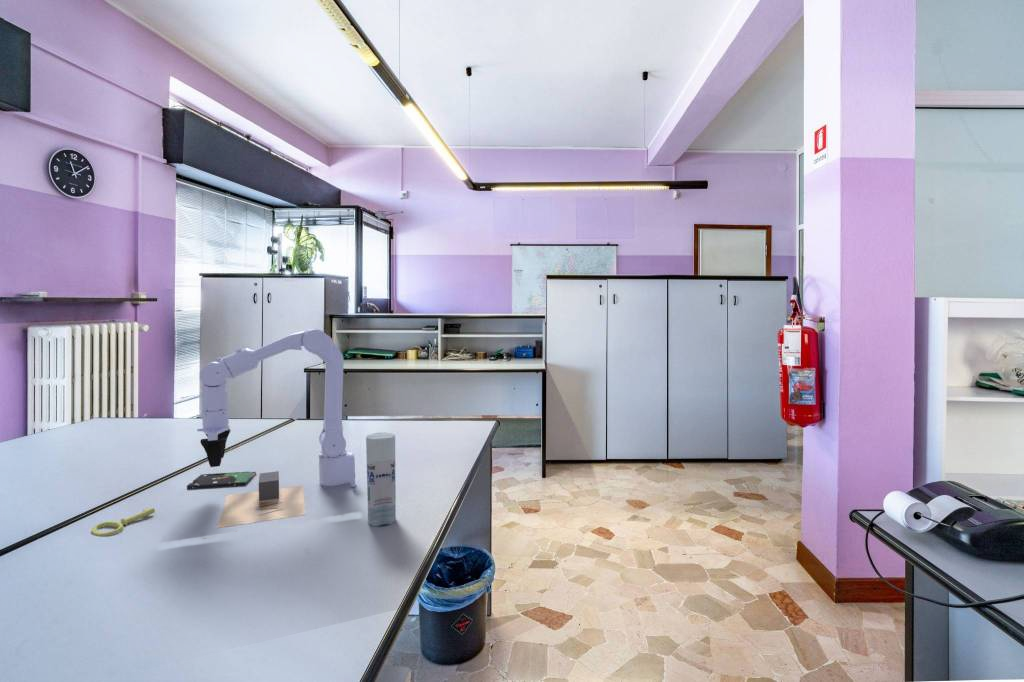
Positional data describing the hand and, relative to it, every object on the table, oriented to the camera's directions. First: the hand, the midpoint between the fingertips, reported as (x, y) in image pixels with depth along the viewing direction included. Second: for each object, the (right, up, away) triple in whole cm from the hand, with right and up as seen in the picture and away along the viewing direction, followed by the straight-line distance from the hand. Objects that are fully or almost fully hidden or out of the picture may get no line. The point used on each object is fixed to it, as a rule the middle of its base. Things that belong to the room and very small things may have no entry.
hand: (217, 462), depth 130 cm
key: (-13, -12, -14) cm, 22 cm away
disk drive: (-5, -10, +12) cm, 17 cm away
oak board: (+14, -10, -5) cm, 19 cm away
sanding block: (+13, -9, +1) cm, 16 cm away
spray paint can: (+45, -11, -12) cm, 48 cm away
